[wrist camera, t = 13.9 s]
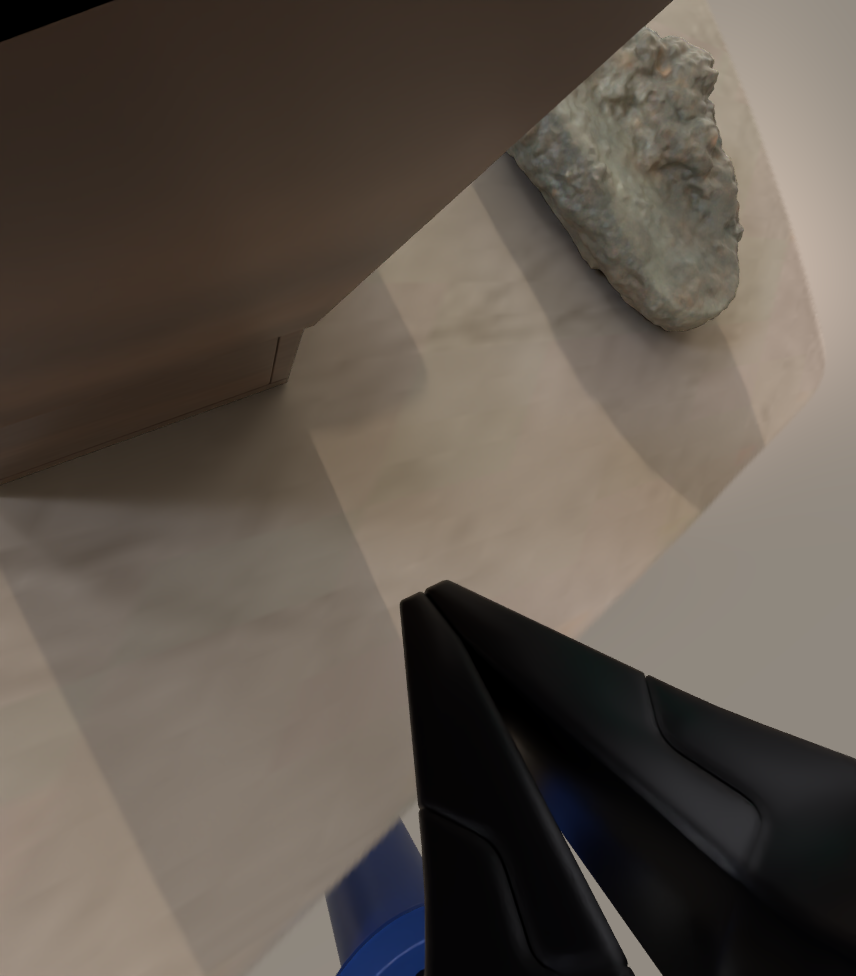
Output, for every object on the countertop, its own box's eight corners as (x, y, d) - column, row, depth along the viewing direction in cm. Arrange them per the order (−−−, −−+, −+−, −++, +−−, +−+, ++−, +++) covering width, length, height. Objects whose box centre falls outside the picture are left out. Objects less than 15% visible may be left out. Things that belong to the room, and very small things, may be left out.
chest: (-226, 114, 17) (-537, -160, 10) (143, 64, 21) (94, -160, 14) (-29, 496, 18) (-194, 477, 11) (287, 382, 22) (308, 317, 15)
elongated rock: (369, -288, 27) (202, -235, 24) (389, -479, 22) (180, -436, 19) (747, 280, 30) (635, 377, 28) (840, 229, 25) (712, 343, 23)
